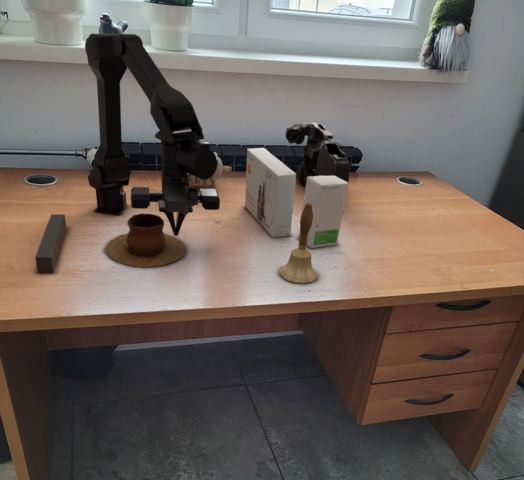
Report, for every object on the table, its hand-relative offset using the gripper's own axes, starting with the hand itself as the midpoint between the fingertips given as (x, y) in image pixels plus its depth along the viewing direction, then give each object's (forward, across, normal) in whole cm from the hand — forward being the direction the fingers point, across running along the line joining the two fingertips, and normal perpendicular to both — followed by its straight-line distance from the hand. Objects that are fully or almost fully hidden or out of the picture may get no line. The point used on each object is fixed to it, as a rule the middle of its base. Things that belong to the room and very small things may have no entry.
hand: (175, 235), depth 116 cm
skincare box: (+4, +24, +17) cm, 30 cm away
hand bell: (+4, +26, -13) cm, 29 cm away
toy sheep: (+4, +9, +41) cm, 42 cm away
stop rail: (+4, -27, 0) cm, 27 cm away
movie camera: (+4, +45, +41) cm, 61 cm away
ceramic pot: (+4, -7, 0) cm, 8 cm away
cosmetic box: (+4, +35, +4) cm, 36 cm away
